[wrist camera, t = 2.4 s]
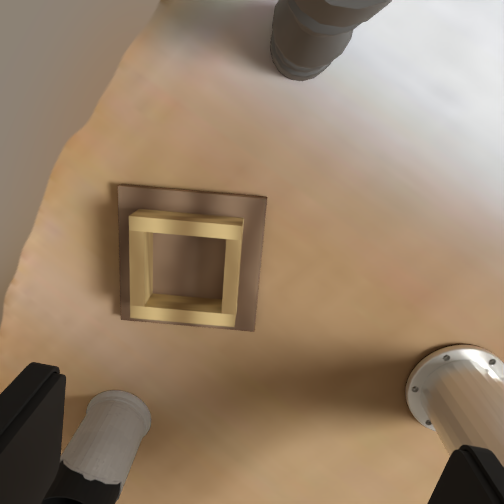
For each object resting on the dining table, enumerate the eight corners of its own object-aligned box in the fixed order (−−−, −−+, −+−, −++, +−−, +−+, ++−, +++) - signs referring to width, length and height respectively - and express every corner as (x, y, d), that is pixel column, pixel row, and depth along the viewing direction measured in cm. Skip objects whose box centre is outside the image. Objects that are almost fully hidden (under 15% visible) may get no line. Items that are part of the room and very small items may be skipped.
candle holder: (347, 43, 38) (480, -86, 15) (302, 94, 40) (357, 52, 16) (301, -5, 37) (365, -232, 13) (257, 49, 39) (244, -69, 15)
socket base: (267, 197, 43) (267, 205, 39) (254, 326, 48) (253, 347, 44) (121, 184, 43) (105, 191, 39) (124, 315, 48) (109, 334, 44)
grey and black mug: (161, 406, 52) (122, 511, 38) (123, 479, 56) (76, 599, 42) (99, 380, 51) (35, 478, 37) (65, 456, 55) (-4, 571, 41)
